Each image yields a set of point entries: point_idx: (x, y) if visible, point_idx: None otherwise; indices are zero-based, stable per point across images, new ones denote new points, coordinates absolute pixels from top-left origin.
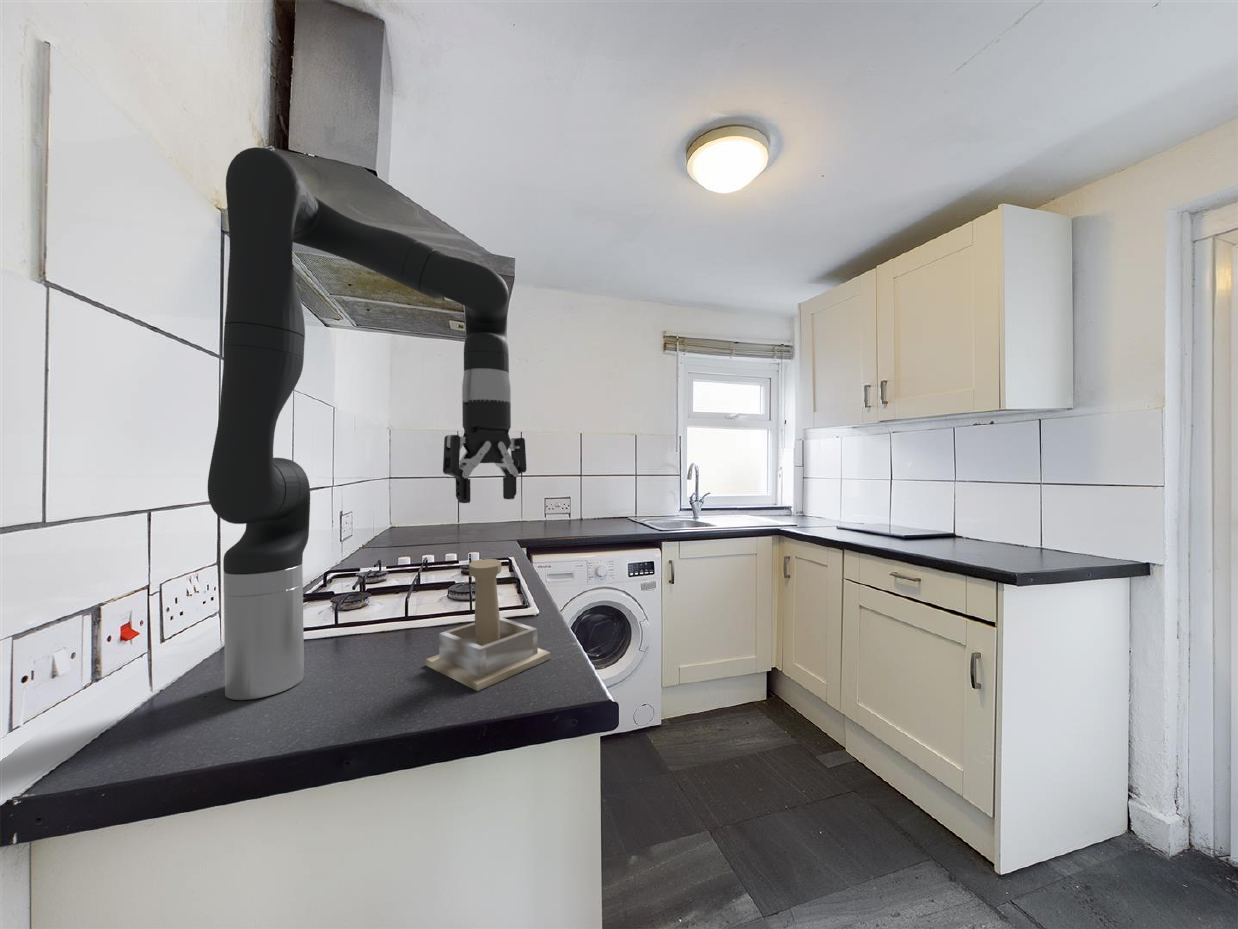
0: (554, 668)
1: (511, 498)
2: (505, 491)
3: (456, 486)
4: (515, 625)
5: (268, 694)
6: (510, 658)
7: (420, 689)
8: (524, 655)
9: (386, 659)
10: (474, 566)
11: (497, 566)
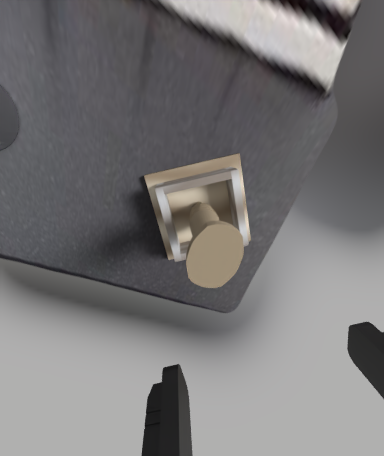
0: None
1: (351, 355)
2: (372, 356)
3: (144, 446)
4: (237, 218)
5: None
6: None
7: (129, 225)
8: None
9: (109, 124)
10: (191, 266)
11: (221, 285)
